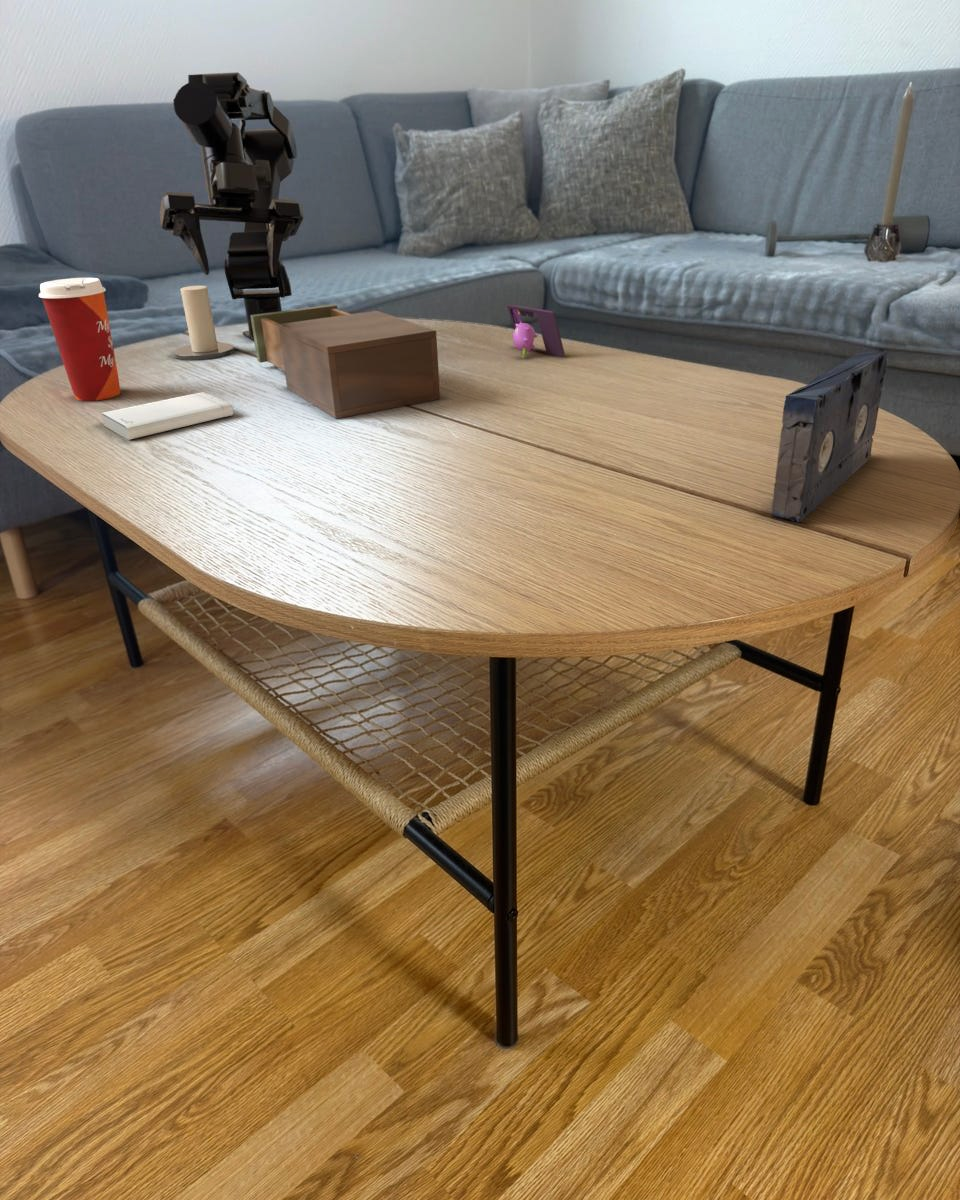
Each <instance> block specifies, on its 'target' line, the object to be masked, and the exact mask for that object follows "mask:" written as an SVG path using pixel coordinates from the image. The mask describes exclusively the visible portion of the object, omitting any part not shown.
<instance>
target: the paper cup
mask: <svg viewBox="0 0 960 1200" xmlns="http://www.w3.org/2000/svg"><path fill="white" fill-rule="evenodd" d="M39 289H40V291H39V293H38V298H41V299H42V301H43V306H44V308H45V311H46V314H47V317H48V320H49V324H50V327H51V330H52V333H53V336H54V340H55V343H56V345H57V348H58V351H59V354H60V357H61V360H62V363H63V367H64V370H65V373H66V375H67V378H68V383H69V385H70V387H71V390H72V393H73V396H74V398H75V400H77V401H79V402H80V401H82V402H93V401H94V402H95V401H102V400H108V399H112V398H114V397H117V396H119V395H120V394H121V385H120V379H119V373H118V372H119V371H118V366H117V361H116V355H115V349H114V343H113V337H112V331H111V326H110V320H109V316H108V315H109V314H108V309H107V304H106V303H107V302H106V297H105V292H106V291H107V289H106V288H105V287H104V286H103V284H102V282H101V280H100V278H97V277H71V278H62V279H61V278H60V279H54V280H49V281H45V282H42V283H40V285H39Z"/></svg>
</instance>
